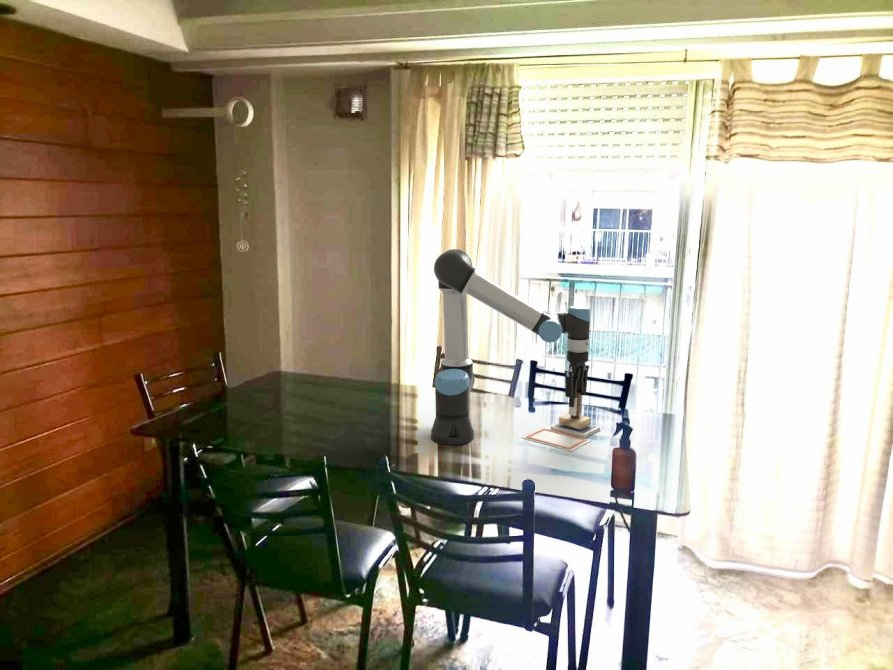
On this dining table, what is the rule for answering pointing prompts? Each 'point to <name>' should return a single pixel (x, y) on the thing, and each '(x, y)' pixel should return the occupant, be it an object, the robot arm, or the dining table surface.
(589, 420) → the stamp
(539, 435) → the marked sheet
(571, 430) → the ink pad
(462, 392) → the robot arm
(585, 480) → the dining table surface
